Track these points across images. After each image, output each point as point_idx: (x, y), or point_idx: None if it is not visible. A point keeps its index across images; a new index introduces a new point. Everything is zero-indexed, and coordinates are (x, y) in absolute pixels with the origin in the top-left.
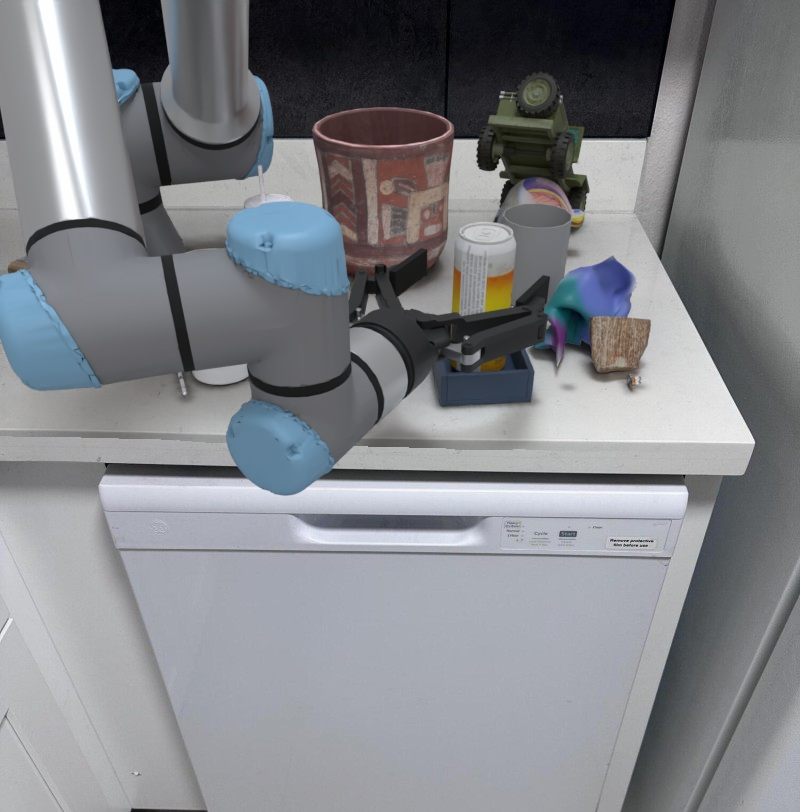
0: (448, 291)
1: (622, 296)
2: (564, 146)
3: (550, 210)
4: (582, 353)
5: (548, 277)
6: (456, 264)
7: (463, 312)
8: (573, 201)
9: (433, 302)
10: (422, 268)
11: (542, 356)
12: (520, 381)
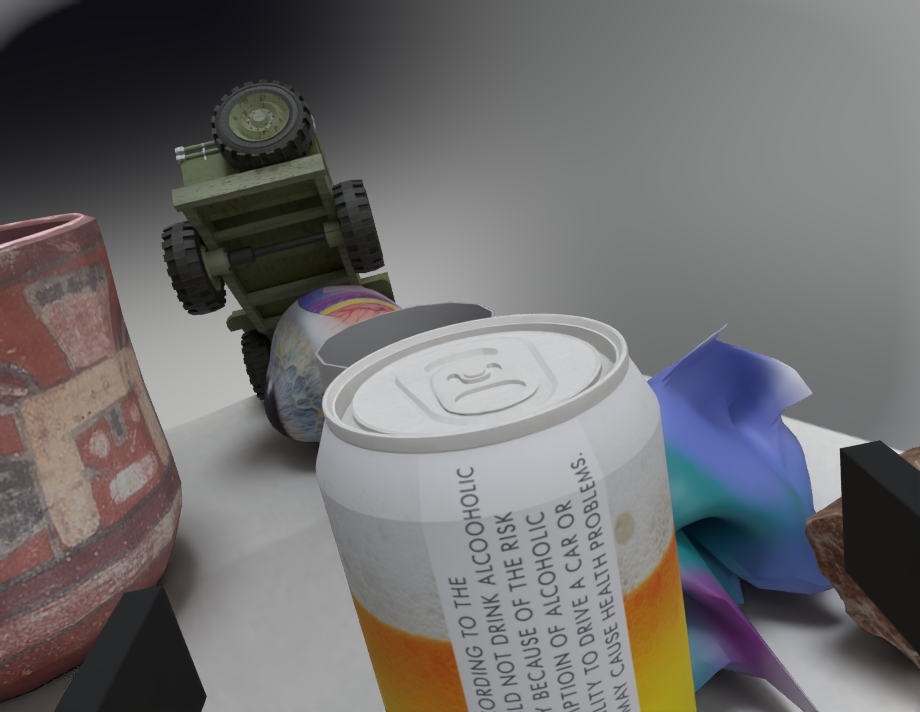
0: (246, 613)
1: (761, 421)
2: (363, 200)
3: (411, 319)
4: (775, 624)
5: (883, 447)
6: (394, 607)
7: None
8: None
9: (221, 675)
10: (174, 693)
11: (700, 705)
12: None
